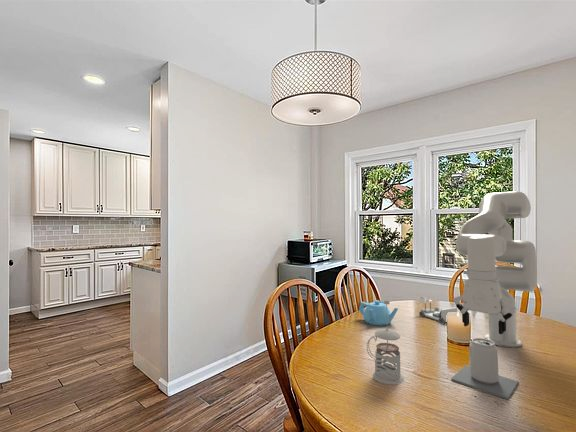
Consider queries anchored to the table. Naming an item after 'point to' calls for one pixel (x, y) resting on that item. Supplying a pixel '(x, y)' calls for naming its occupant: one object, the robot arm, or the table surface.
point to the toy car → (435, 311)
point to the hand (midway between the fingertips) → (483, 329)
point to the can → (484, 361)
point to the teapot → (377, 313)
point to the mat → (500, 388)
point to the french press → (387, 357)
